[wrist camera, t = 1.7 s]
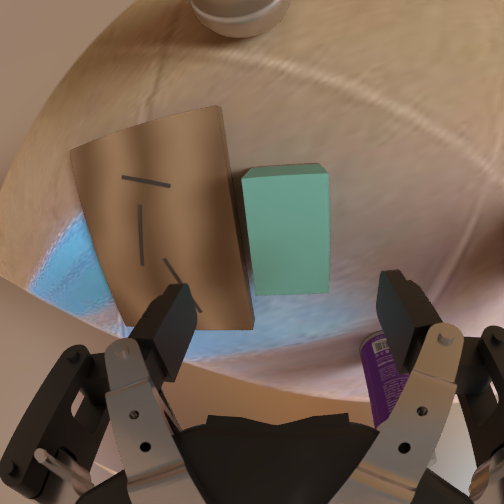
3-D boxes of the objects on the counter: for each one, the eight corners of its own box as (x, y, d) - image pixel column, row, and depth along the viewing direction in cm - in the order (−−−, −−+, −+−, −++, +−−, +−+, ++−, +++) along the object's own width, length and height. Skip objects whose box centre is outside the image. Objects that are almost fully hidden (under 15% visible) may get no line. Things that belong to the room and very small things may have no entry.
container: (350, 354, 27) (369, 482, 13) (377, 324, 25) (415, 460, 11) (381, 364, 27) (406, 480, 14) (407, 337, 25) (448, 457, 12)
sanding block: (318, 162, 19) (328, 173, 15) (321, 259, 23) (328, 292, 18) (251, 166, 20) (241, 178, 15) (262, 262, 23) (255, 295, 19)
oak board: (221, 107, 18) (215, 105, 17) (254, 319, 26) (252, 330, 24) (79, 148, 20) (68, 150, 19) (132, 318, 28) (125, 326, 27)
